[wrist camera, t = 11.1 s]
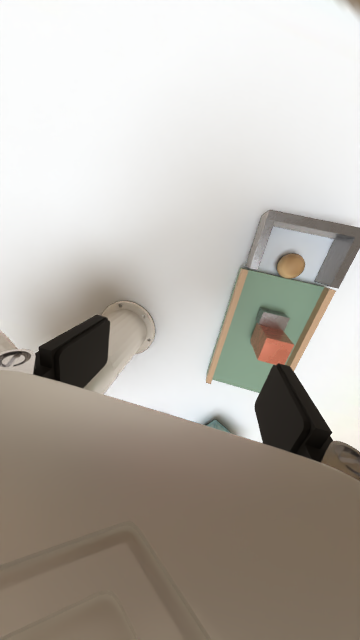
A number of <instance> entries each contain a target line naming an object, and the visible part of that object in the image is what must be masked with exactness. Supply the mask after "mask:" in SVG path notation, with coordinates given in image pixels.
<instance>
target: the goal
mask: <svg viewBox="0 0 360 640" xmlns="http://www.w3.org/2000/svg"><path fill="white" fill-rule="evenodd" d="M273 226H274V227H279V228H284V229H289V230H294V231H299V232H303V233H308V234H313V235H318V236H323V237H328V238H332V239H334V241H333V243H332V245H331V247H330V250H329V252H328V254H327V256H326V258H325V260H324V262H323V264H322V267H321V269H320V271H319V273H318V275H317V277H316V279H315V282H318V283H321V284H324V285H327V286H330V287H334V288H339V286H340V284H341V282H342V281H343V279H344V277H345V275H346V273H347V271H348V269H349V267H350V265H351V264H352V262H353V260H354V258H355V256H356V254H357V252H358V250H359V248H360V228H359V227H354V226H348V225H343V224H338V223H333V222H328V221H323V220H318V219H313V218H308V217H303V216H298V215H293V214H288V213H283V212H278V211H273V210H269V211H267V212H266V213H264V214H263V215H262V216H261V219H260V222H259V225H258V228H257V231H256V235H255V238H254V241H253V244H252V247H251V250H250V253H249V256H248V259H247V262H246V265H245V266H247V267H249V268H251V269H255V270H258V267H259V264H260V262H261V259H262V256H263V253H264V250H265V247H266V245H267V242H268V239H269V236H270V233H271V230H272V227H273Z"/></svg>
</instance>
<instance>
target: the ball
mask: <svg viewBox="0 0 360 640" xmlns="http://www.w3.org/2000/svg"><path fill="white" fill-rule="evenodd" d="M304 267H305V262H304V259H303V258H302V257H301V256H300V255H298V254H294V253H292V254H287V255H285V256H283V257H282V258H281V259H280V260H279V262H278V264H277V271H278V273H279V275H280V276H282V277H284V278H288V279H291V278H295V277H297V276H299V275H300V274H301V273H302V272H303V270H304Z"/></svg>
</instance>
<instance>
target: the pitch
mask: <svg viewBox="0 0 360 640" xmlns="http://www.w3.org/2000/svg"><path fill="white" fill-rule="evenodd" d="M335 292H336V291H335V290H333V289H330V288H327V287H324V286H319V285H315V284H310V283H306V282H302V281H297V280H293V279H288V278H284V277H280V276H275V275H271V274H267V273H262V272H258V271H253V270H249V269H245V268H240V269H239V272H238V276H237V279H236V282H235V285H234V288H233V291H232V295H231V298H230V301H229V304H228V307H227V310H226V314H225V317H224V320H223V323H222V326H221V329H220V333H219V336H218V339H217V342H216V345H215V348H214V352H213V355H212V358H211V361H210V364H209V367H208V371H207V376H206V383H209V384H211V381H212V380H216V381H219V382H223V383H226V384H230V385H233V386H237V387H240V388H244V389H247V390H251V391H254V392H258V393H260V391H261V389H262V387H263V385H264V383H265V381H266V379H267V376H268V374H269V372H270V370H271V368H272V366H273V365H274V364H270V363H266V362H263V361H259V360H257V357H256V355H255V352H254V349H253V347H252V346H251V344H250V342H251V341H250V339H251V337H252V334H253V332H254V329H255V326H256V324H257V321H256V316H257V314H258V311H259V308H260V307H261V308H265V309H269V310H274V311H278V312H282V313H285V314H286V315H287V316H288V317H289V318H290V319H289V322H288V324H287V326H286V328H285V330H284V333H285V334H286V335H287V336H288V338H289V339H290V340H291V341H292V342H293V344H294V347H293V349H292V351H291V353H290V355H289V357H288V359H287V361H286V363H285V365H287V366H290V367H291V368H292V370H293V371H294V370H295V368H296V366H297V364H298V362H299V360H300V358H301V356H302V355H303V353H304V351H305V349H306V347H307V345H308V343H309V341H310V339H311V337H312V335H313V334H314V332H315V330H316V328H317V326H318V324H319V322H320V320H321V318H322V316H323V315H324V313H325V311H326V309H327V307H328V305H329V303H330V301H331V299H332V297H333V295H334V294H335Z"/></svg>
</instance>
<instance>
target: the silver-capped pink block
mask: <svg viewBox="0 0 360 640" xmlns="http://www.w3.org/2000/svg"><path fill="white" fill-rule="evenodd" d="M289 319H290V318H289V317H288V316H287V315H286V314H285V313H282V312H278V311H274V310H269V309H265V308H261V307H260V308H259V311H258V314H257V316H256V321H257V324H256V326H255V329H254V332H253V334H252V337H251V339H250V341H251V342H250V344H251V346H252V347H253V349H254V352H255V355H256V357H257V360H259V361H263V362H266V363H270V364H274V365H277V364H278V363H279V364H283V365H285V363H286V361H287V359H288V357H289V355H290V353H291V351H292V349H293V347H294V344H293V342H292V341H291V340H290V339H289V338H288V336H287V335H286V334H285V333H284V330H285V328H286V326H287V324H288V322H289Z"/></svg>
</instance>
